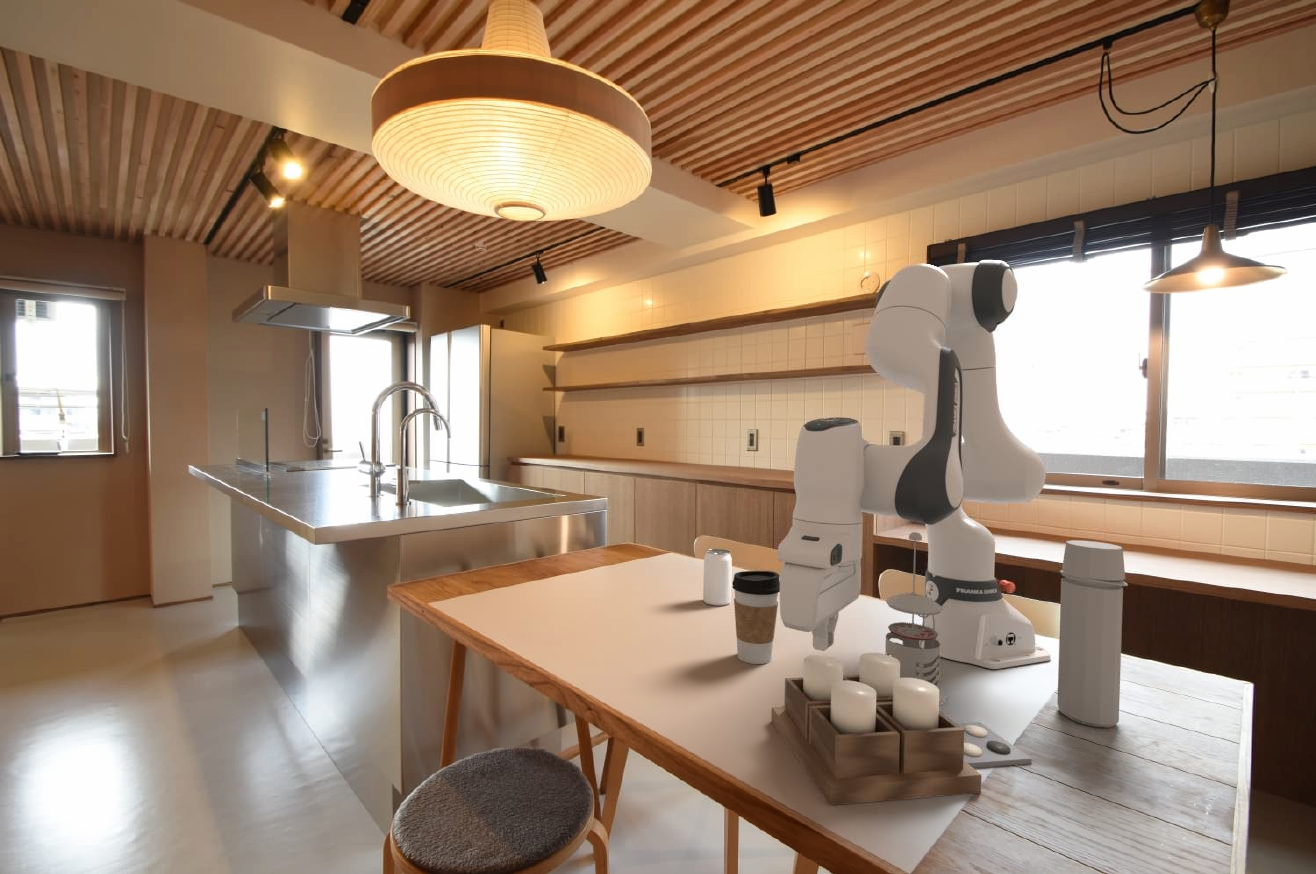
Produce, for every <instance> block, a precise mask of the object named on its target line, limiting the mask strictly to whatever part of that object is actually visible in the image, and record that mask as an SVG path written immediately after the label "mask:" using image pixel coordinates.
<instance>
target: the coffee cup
mask: <svg viewBox="0 0 1316 874" xmlns="http://www.w3.org/2000/svg"><path fill="white" fill-rule="evenodd" d="M731 588H732V589H733V590H734V599H733V602H734V603H733V605H734V607H733V608H734V619H735V632H736V635H735V636H736V644H737V645H736V647H737V648H736V649H737V650H736V651H737V658H738V659H739V661H742V662H744V663H746V664H750V665H751V664H752V665H764V664H769V663H770V662H771V661H772V657H773V656H772V655H773V646H774V638H775V632H776V631H775V630H776V623H777V615H778V607H779V602H778V595H779V593H780V573H778V572H775V571H772V570H771V571H770V570H746V571H738V572H736V573H734V575H733V580H732V581H731Z"/></svg>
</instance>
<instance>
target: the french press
mask: <svg viewBox="0 0 1316 874" xmlns="http://www.w3.org/2000/svg"><path fill="white" fill-rule="evenodd" d="M922 536H923V535H921V533H920V532H913V531H912V532H911V533H909V534H908V539H909V540H910V541H914V542H913V545H914V547H913V548H914V549H913V551H914V552H913V576H912V577H913V579H912V580H913V582H912V583H913V584H912V592H905V593H899V594H894V595H892V596H889V597H888V598H886V600H885V603H886V604H887V606H888V608H891V609H893V610H895V611H897V612H898V611H899V612H900V613H905V614H910V615H912V616H911V622H906V621H905V622H904V621H901V622H900V621H899V622H893V623H891V624H889V625H888V627H887V628H888V630H889V632H887V633H886V635H885V653H884V654H885V655H889V656H892V657H894V658H896V659H897V660H899V661H900V678H916V679H921V680H924V681H927V682H930V683H932V684H933V685H935V686H936V687H937V688H938V689H939V706H940V705H942V704H945V703H946V702H945V701H946V699H947V698H946V696H945V694H944V693H943V691H942V690H941V689H940V666H941V665H940V663H939V662H940V659H941V657H940V655H939V653H940V643H939V642H938V641H937V640H936V637H937V636H938V633H937V632H936V631H935V620H934V615H936V614H939V613H940V612H941V611H942V609H943V608H942V607H941V606H940V605H939V604H938V603H936V602H935V601H933V600H932V599H931V598H928V597H926V595H924V594H918V593H916V591H915V590H916V589H915V587H916V584H915V582H916V556H917V554H916V552H917V551H916V550H917V549H916V548H917V547H916V545H917V544H916V543H917V541H919V542H920V541H923V537H922ZM915 615H917V616H919V618H922V622H923V625H922V623H921V624H919V623H918V624H917V623H915V620H914V619H915ZM924 615H927V616H924ZM929 615H932V618H933V629H932V628H928V627H927V626H926V627H925V626H924V624H925V621H924V618H927V617H928V616H929ZM891 639H896V640H899V641H901V642H902V643H899V642H893V641H892V640H891ZM919 640H921V642H920V645H919ZM922 641H924V649H923V648H921V647H920V646H921V644H922ZM919 664H921V665H923V667H919V666H920V665H919ZM919 673H920V674H923V675H922V676H921V675H919Z"/></svg>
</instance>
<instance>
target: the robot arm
mask: <svg viewBox="0 0 1316 874" xmlns="http://www.w3.org/2000/svg"><path fill="white" fill-rule="evenodd" d="M1017 297H1018V283H1017V279H1016V277H1015V273H1014V271H1013V269H1012V267H1011V266H1010V265H1009V264H1007V263H1006V262H1005V261H1003V260H993V259H983V260H980V261H979V262H964V263H955V264H946V265H940V266H938V267H937V266H934V265H931V264H927V263H915V264H909V265H908V266H905V267H903V268H901V269H899V270H898V271H897V272H896V273H895V274H894V275H893V277H892V278H890V279H888V280H887V281H885V282H884V283H883V284H882V286H881V287H880V289H879V290H878V291H877V294H876V296H875V304H874V309H875V311H874V313H873V316H872V318H871V321H870V324H869V326H868V330H867V333H866V337H865V343H864V344H865V345H864V354H865V355H866V359H867V361H868V363H869V365H870V366H871V368H872V369H873V370H874V371H875V372H876V373H877V374H878V375H879V376H881V377H882V378H884V379H885V380H886V381H888V382H890V383H892V384H895V385H897V386H900V387H904V388H908V389H910V390H914V391H916V392H919V393H921V394H922V395H924V409H923V421H922V422H923V423H922V436H921V439H920V440H918V441H917V442H915V443H910V444H904V445H895V444H894V445H893V444H891V445H889V444H876V443H870V442H869V441H868V440H865V439H864V438H863V430H862V426H861V423H860V421H859V420H857V419H854V418H851V417H836V416H835V417H827V418H817V419H813V420H810V421H807V422H806V423H805V424H803V425H802V426H801V428H800V431H799V434H798V437H797V444H796V449H795V455H794V456H795V457H794V468H793V469H794V471H793V488H794V491H795V496H796V499H795V505H794V508H793V512H792V523H791V524H792V526H791V527H790V529H789V530H788V531H789V532H788V534H786V536H785V537H784V539H783V540H781V542H780V543H779V544H778V547H777V560H778V561H779V562H782V563H783V564H782V566H781V568H780V573H779V580H780V592H779V613H780V620H781V622H782V624H783V626H784V627H786V628H788V629H790V630H791V629H792V630H796V631H800V632H804V633H811V634H812V647H813V648H814V650H816V651H817V650H818V651H820V652H826V650H828V649H829V648H830V647H831V646H833V645H834V643H835V631H836V628H837V624H838V621H839V612H841V611H842V610H844V609H845V608H846V607H848V606H849V605H850V604H852V603H853V602H855V601H856V600H858V599H859V597H860V593H861V587H862V585H861V584H862V583H861V581H862V578H861V577H862V575H861V571H862V569H861V559H862V557H863V538H864V537H863V535H864V534H863V533H864V531H863V529H864V527H863V526H864V516H863V513H866V514H871V515H877V516H885V517H886V516H887V517H891V518H892V517H894V518H901V519H903V520H907V521H911V522H915V523H920V524H924V525H925V528H926V533H927V547H928V548H927V552H928V554H927V556H928V560H927V561H928V562H927V569H926V571H925V579H924V594H925V595H924V596H926V597H928V598H931V599H932V600H933V601H935V602H936V603H938V604H939V605H940V606H941V607H942V608H943V609H942V611H941V612H940V613H939V614H936V615H934V620H935V631H936V632H937V633H938V636H937V637H936V640H937V641H938V642H939V643H940V653H939V655H940V658H943V659H944V658H945V659H947V660H952V661H956V662H961V663H967V664H972V665H976V666H980V667H983V668H987V669H991V670H998V669H1004V668H1011V667H1016V666H1017V667H1018V666H1023V665H1024V666H1025V665H1028V664H1035V663H1042V662H1048V661H1051V660H1052V659H1051V653H1049V651H1048V650H1047V649H1045V648H1044V647H1042V646H1041V645H1039V644H1038V643H1036V635H1035V633H1036V632H1035V629H1034V627H1033V624H1032V622H1031V621H1030V620H1029V619H1028V618H1027V617H1026V616H1025V615H1023V613H1021V612H1020V611H1019V610H1017V609H1016V608H1015V607H1014V606H1013V605H1012V604H1010V603H1009V602H1008V601H1007V600H1006V599H1004V598H1003V594H1002V592H1007V593H1008V594H1012V593H1014V592H1015V591H1016V585H1015V583H1014V582H1012V581H1008V580H1005V579H1002V580H999V579H998V578H997V577H995V563H996V559H995V557H996V541H995V536H993V534H992V532H991V531H990V530H989V529H988V528H987V527H986V526H984V525H983V524H981V523H979V522H978V521H976V520H974V519H972V518H971V517H969V516H968V515H967V514H966V512H965V511H964V509H963V506H962V502H971V503H981V504H982V503H983V504H984V503H985V504H993V505H1009V504H1011V505H1013V504H1024V503H1031V502H1032V501H1033V500H1034V499H1036V498H1037V496H1038V495H1039V494H1040V493H1041V491H1042V490H1043V488H1044V486H1045V483H1046V479H1047V478H1046V477H1047V475H1046V474H1047V472H1046V467H1045V464H1044V462H1043V460H1042V458H1041V457H1040V455H1039V454H1038V453H1037V452H1036V451H1035V450H1033V449H1032V448H1031V447H1029V446H1028V445H1026V444H1025V443H1023V442H1022V441H1021V440H1019V438H1017V437H1016V435H1014V433H1013V432H1012V431H1011V430H1010V429H1009V427H1008V425H1007V424H1006V422H1005V420H1004V417H1003V416H1002V413H1001V410H1000V405H999V398H998V397H999V396H998V386H997V384H998V383H997V360H996V359H997V357H996V347H995V339H994V334H993V333H994V332H995V331H996V329H997V327H998V326H999V325H1001V324H1003V323H1004V322H1005V321H1007V319H1008V318H1009V317H1010V315H1011V314H1012V313H1013V311H1014V309H1015V306H1016V301H1017ZM962 438H963V442H962ZM924 616H927V615H924ZM924 621H925V624H924V626H925V627H926V626H927V627H928V628H932V629H933V618H932V615H929V616H928V617H927V618H924ZM921 625H923V621H922V623H921ZM920 642H921V640H919V645H920ZM920 649H924V641H922V644H921V646H920Z"/></svg>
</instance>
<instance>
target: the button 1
mask: <svg viewBox="0 0 1316 874" xmlns="http://www.w3.org/2000/svg"><path fill="white" fill-rule="evenodd" d="M802 668H803V670H802V671H803V694H804V695H805V696H806V697H807V698H808V699H809V700H810V701H824V700H831V686H832V684H833V683H834V682H837V681H843V675H844V663H843V662H842V661H841V660H839V659H838V658H836V657H832V656H829V655H823V654H813V655H808V656H805V657H804V658H803V667H802Z"/></svg>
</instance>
